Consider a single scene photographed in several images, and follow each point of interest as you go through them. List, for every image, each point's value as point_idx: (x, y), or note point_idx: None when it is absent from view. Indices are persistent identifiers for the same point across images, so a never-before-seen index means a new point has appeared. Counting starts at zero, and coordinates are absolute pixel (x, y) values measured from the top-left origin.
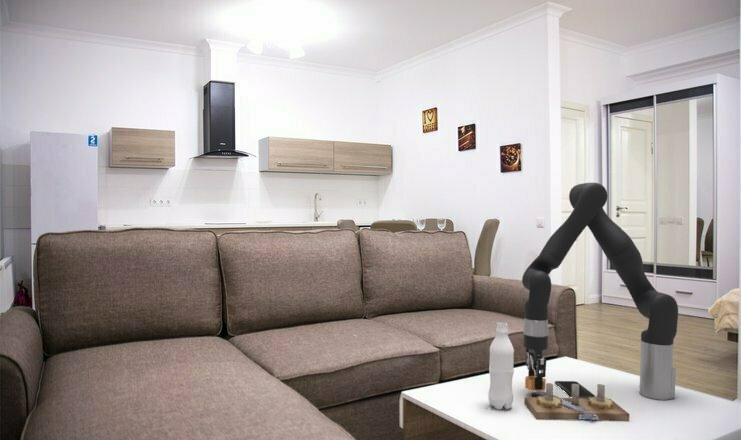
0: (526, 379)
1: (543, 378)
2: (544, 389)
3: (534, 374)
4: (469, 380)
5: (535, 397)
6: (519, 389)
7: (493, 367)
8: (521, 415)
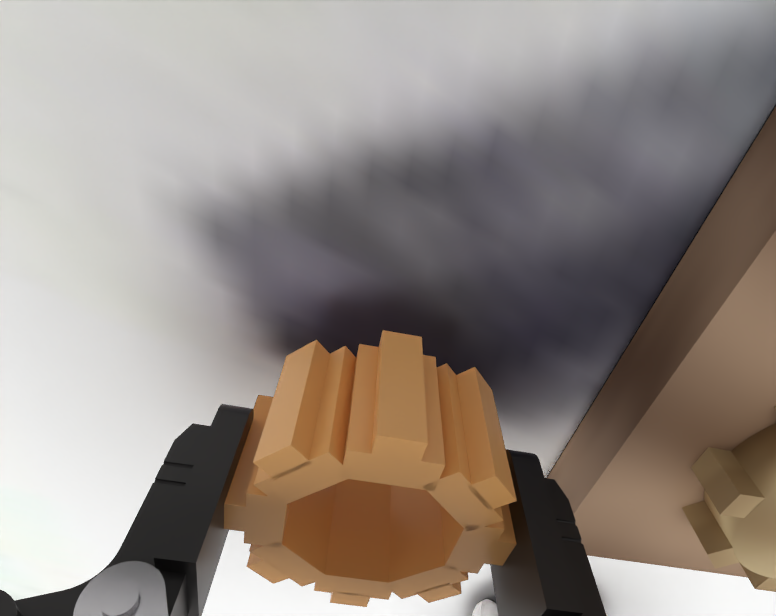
0: (369, 597)
1: (383, 452)
2: (482, 383)
3: (216, 515)
4: (21, 592)
5: (593, 494)
6: (182, 404)
7: None
8: (708, 575)
